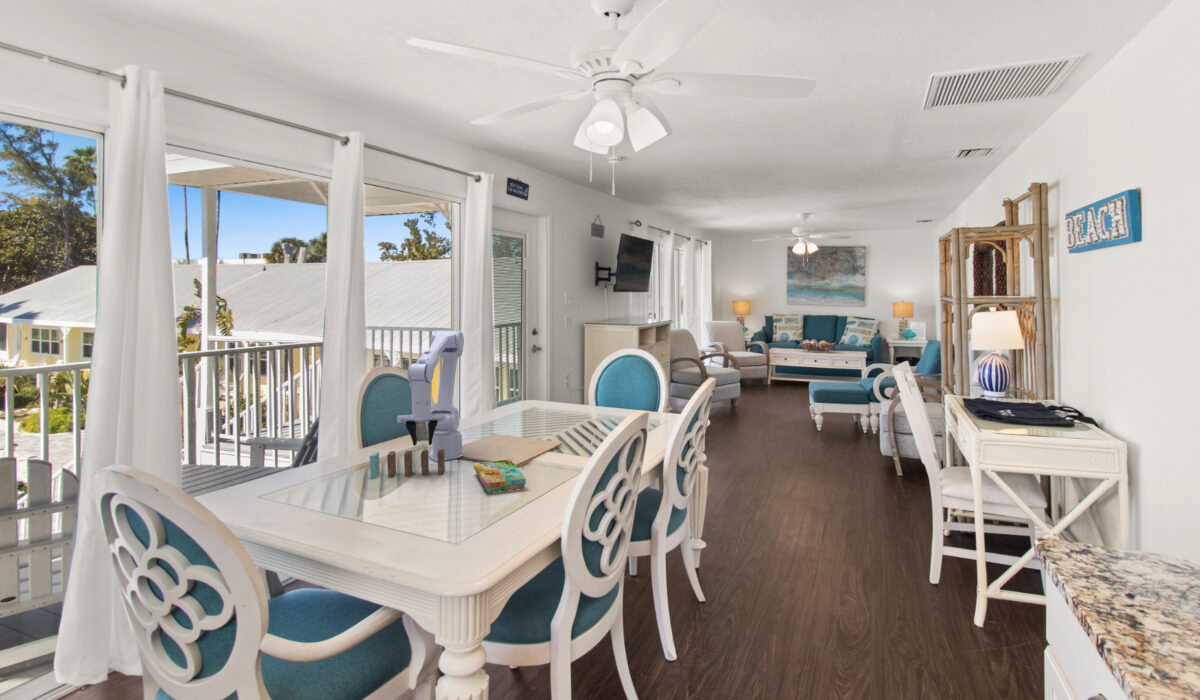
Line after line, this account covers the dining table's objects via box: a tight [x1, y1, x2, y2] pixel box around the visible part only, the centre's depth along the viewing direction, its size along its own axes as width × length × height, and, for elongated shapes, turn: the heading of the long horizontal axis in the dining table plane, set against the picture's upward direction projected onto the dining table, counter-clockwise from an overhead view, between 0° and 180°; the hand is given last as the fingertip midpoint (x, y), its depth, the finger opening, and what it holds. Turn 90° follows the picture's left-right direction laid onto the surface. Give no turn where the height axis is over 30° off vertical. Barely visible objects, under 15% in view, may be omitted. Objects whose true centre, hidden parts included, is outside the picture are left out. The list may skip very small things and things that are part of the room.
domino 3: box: [403, 449, 413, 478], centre depth 183 cm, size 2×4×7 cm, turn 9°
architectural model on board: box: [416, 422, 429, 442], centre depth 225 cm, size 11×3×10 cm, turn 100°
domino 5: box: [437, 449, 446, 476], centre depth 184 cm, size 2×4×7 cm, turn 9°
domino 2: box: [386, 450, 397, 478], centre depth 182 cm, size 2×4×7 cm, turn 9°
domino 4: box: [420, 449, 430, 477], centre depth 183 cm, size 2×4×7 cm, turn 9°
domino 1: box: [369, 451, 381, 479], centre depth 181 cm, size 2×4×7 cm, turn 7°
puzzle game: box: [473, 459, 527, 494], centre depth 176 cm, size 12×5×20 cm
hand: (422, 444), depth 183 cm, fingers open, 4 cm apart
